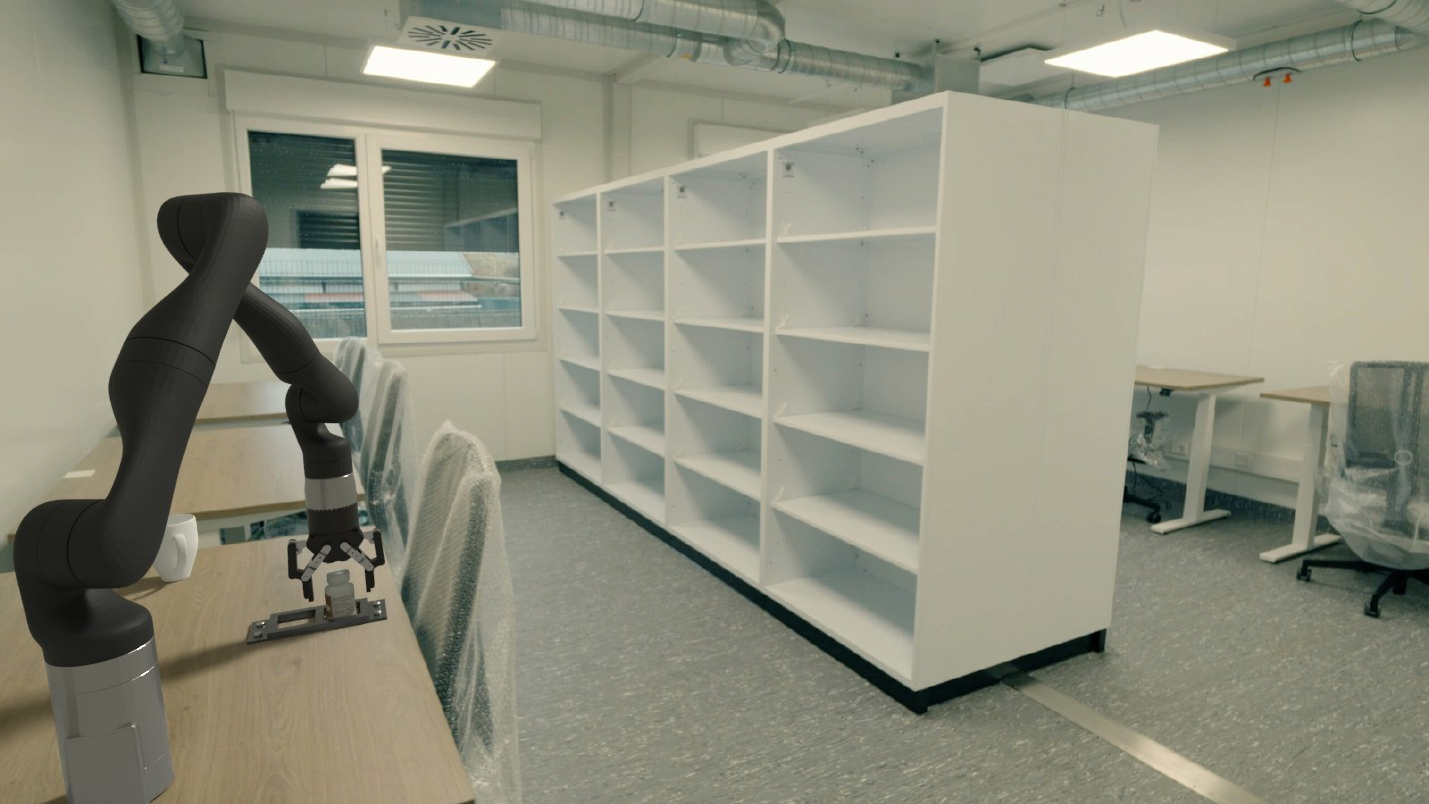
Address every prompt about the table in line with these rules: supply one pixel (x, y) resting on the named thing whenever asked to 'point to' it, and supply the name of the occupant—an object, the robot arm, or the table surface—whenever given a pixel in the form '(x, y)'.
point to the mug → (177, 548)
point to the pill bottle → (339, 594)
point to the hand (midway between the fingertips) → (340, 595)
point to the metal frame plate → (270, 631)
